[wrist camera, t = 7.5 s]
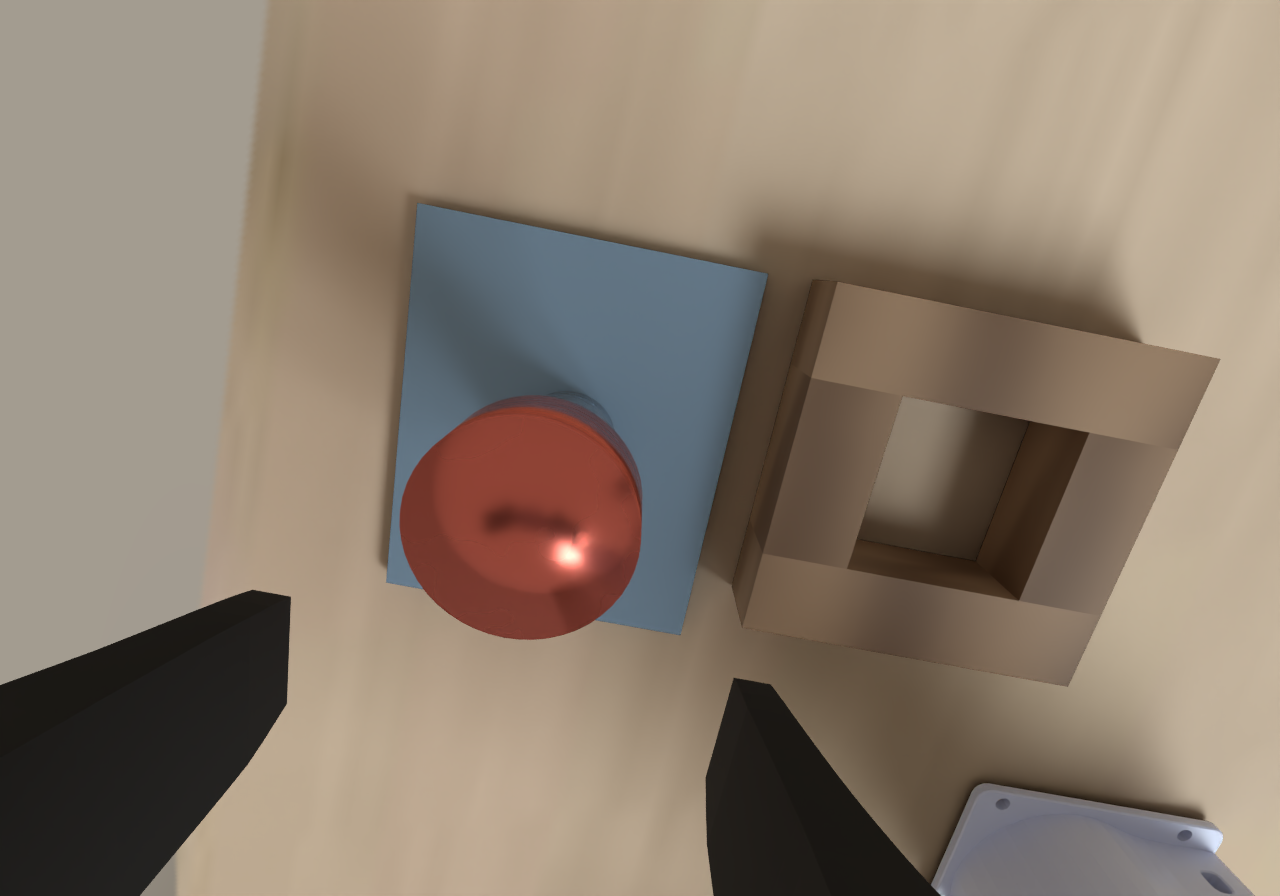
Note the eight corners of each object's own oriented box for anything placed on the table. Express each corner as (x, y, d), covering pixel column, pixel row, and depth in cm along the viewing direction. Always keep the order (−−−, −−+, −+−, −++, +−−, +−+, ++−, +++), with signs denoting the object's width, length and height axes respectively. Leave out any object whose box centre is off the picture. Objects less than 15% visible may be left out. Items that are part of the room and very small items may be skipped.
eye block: (1145, 346, 18) (1220, 359, 16) (1020, 638, 21) (1067, 686, 19) (812, 279, 18) (837, 281, 15) (731, 586, 21) (742, 627, 18)
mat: (764, 273, 18) (768, 273, 17) (679, 626, 21) (680, 635, 21) (423, 204, 17) (417, 203, 17) (392, 575, 21) (386, 582, 20)
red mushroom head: (659, 378, 18) (664, 444, 12) (628, 524, 20) (615, 658, 13) (500, 346, 18) (411, 394, 11) (480, 495, 19) (389, 616, 13)
